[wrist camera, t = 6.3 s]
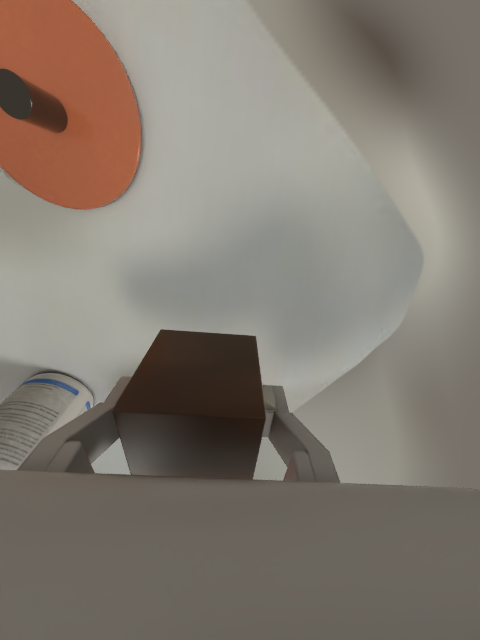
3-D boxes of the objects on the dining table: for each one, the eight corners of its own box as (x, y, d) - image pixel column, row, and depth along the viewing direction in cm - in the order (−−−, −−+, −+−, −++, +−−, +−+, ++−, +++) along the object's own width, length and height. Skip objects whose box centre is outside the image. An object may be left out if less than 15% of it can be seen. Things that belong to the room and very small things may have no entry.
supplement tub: (13, 379, 32) (-137, 502, 19) (66, 362, 30) (-58, 481, 17) (61, 420, 36) (-34, 541, 23) (109, 405, 35) (36, 526, 22)
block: (256, 335, 12) (266, 418, 7) (246, 400, 14) (250, 492, 10) (160, 329, 11) (110, 410, 7) (167, 396, 14) (134, 488, 9)
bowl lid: (131, 2, 15) (94, -68, 11) (152, 215, 22) (133, 218, 18) (-76, -28, 14) (-196, -116, 10) (10, 201, 21) (-44, 202, 17)
